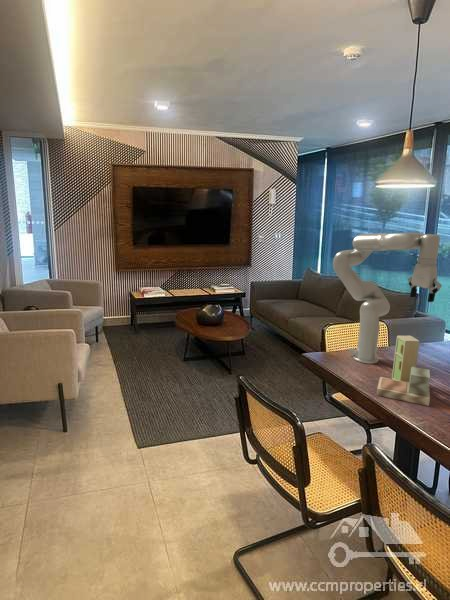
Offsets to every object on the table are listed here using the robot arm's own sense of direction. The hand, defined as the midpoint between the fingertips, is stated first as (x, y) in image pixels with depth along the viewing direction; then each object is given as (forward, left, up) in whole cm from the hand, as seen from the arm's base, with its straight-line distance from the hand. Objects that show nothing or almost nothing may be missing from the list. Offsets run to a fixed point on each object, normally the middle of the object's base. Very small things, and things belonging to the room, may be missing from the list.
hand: (421, 299), depth 194 cm
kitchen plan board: (-3, -25, -37) cm, 45 cm away
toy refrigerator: (-4, -12, -37) cm, 39 cm away
